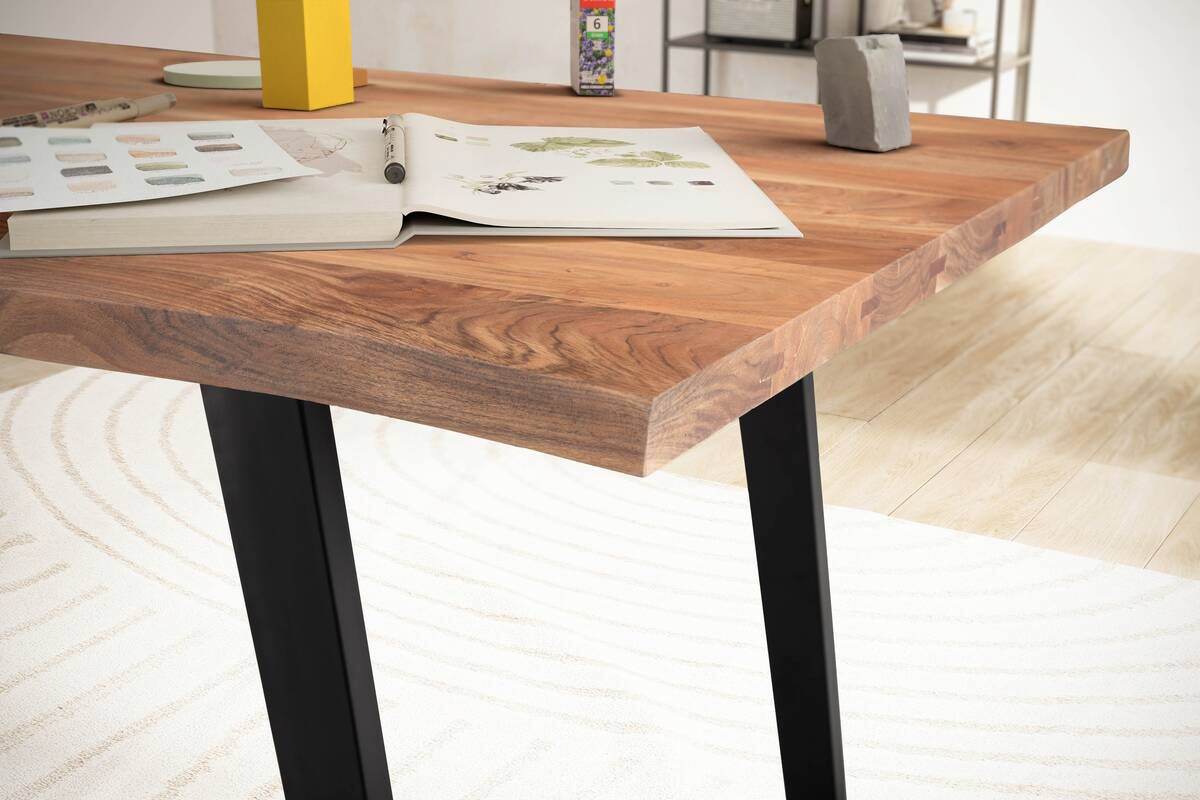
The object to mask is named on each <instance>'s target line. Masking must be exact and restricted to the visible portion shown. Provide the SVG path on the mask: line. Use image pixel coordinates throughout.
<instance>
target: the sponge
mask: <svg viewBox="0 0 1200 800" xmlns="http://www.w3.org/2000/svg"><path fill="white" fill-rule="evenodd" d="M255 3H256V4H255V6H256V7H255V9H256V21H257V22H256V23H257V36H258V51H259V61H260V67H261V82H262V88H261V94H262V95H261V96H262V107H263V108H265V109H278V110H279V109H281V110H294V111H308V112H309V111H315V110H320V109H326V108H330V107H331V108H332V107H336V106H341V105H346V104H351V103H355V93H354V87H353V68H354V67H353V50H352V47H353V46H352V26H351V23H352V22H351V5H350V4H351V3H350V0H255Z"/></svg>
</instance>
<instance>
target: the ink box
mask: <svg viewBox="0 0 1200 800" xmlns="http://www.w3.org/2000/svg"><path fill="white" fill-rule="evenodd" d="M569 34H570V35H569V48H570V49H569V51H570V52H569V70H570V71H569V72H570V73H569V74H570V76H569V78H570V86H571V88H572V89H573V91H575V92H576V94H578V95H579V96H614V95H615V52H616V51H615V50H616V49H615V46H616V45H615V44H616V43H615V42H616V0H569ZM572 86H574V87H572Z"/></svg>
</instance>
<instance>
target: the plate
mask: <svg viewBox="0 0 1200 800" xmlns="http://www.w3.org/2000/svg"><path fill="white" fill-rule="evenodd" d="M162 75H163V81H164V83H167V84H169V85H174V86H181V87H188V88H203V89H204V88H205V89H228V90H229V89H231V90H232V89H233V90H235V89H237V90H247V89H249V90H251V89H253V90H254V89H255V90H256V89H257V90H258V89H261V90H262V82H261V67H260V60H257V59H256V60H253V59H252V60H251V59H250V60H211V61H209V60H208V61H195V62H184V63H176V64H169V65H166V66H165V67H163V68H162Z"/></svg>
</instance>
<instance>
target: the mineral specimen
mask: <svg viewBox="0 0 1200 800" xmlns="http://www.w3.org/2000/svg"><path fill="white" fill-rule="evenodd" d="M900 38H901V37H900V35H899V32H898V33H894V34H893V33H892V34H891V33H883V34H868V35H859V36H856V35H854V36H852V35H851V36H843V37H839V36H835V37H833V36H832V37H831V36H830V37H825V38H824V39H822V40H820V41H819V42H817V43H816V44H815V45H814V47H813V49H814V58H815V61H816V75H817V82H818V87H819V96H820V100H821V110H822V113H823V122H824V132H825V138H826V139H825V140H826V142H827V143H828V144H829V145H831V146H838V147H840V148H842V147H844V148H848V149H849V148H850V149H851V148H852V149H855V150H862V151H872V152H888V151H892V150H897V149H899V148H903V147H907V146H910V145H911V143H912V137H913V135H912V125H911V121H912V120H911V113H910V101H909V100H910V99H909V89H908V73H907V72H908V70H907V67H906V60H905V58H904V44H903V42H902V41H901V39H900Z"/></svg>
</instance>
